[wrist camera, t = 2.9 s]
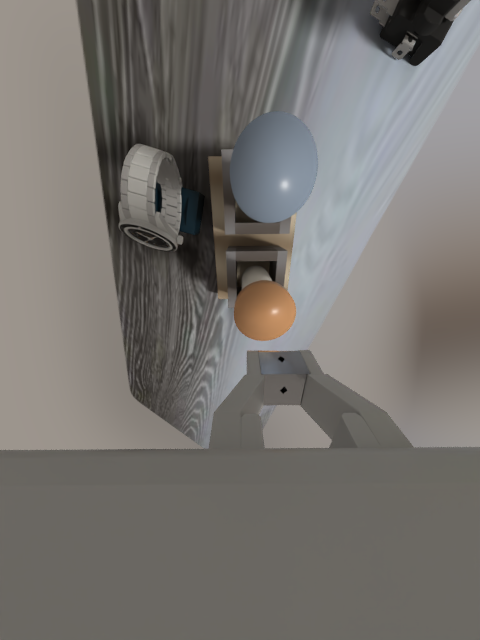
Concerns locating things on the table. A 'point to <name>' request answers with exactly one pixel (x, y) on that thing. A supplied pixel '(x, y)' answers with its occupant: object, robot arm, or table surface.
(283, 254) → the mount
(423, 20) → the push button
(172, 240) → the watch
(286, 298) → the knob
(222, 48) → the table surface
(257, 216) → the knob
